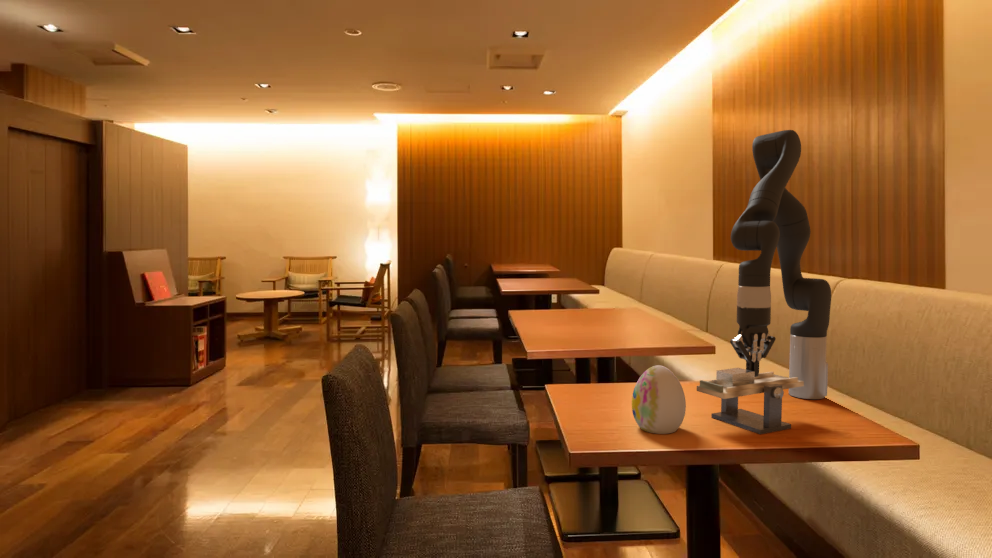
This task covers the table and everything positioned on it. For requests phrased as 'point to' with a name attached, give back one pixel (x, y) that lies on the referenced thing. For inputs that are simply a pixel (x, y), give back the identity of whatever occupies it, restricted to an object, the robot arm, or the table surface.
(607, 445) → the table surface
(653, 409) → the decorative egg
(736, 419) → the stand
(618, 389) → the table surface
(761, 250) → the robot arm
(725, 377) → the rider
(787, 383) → the beam
